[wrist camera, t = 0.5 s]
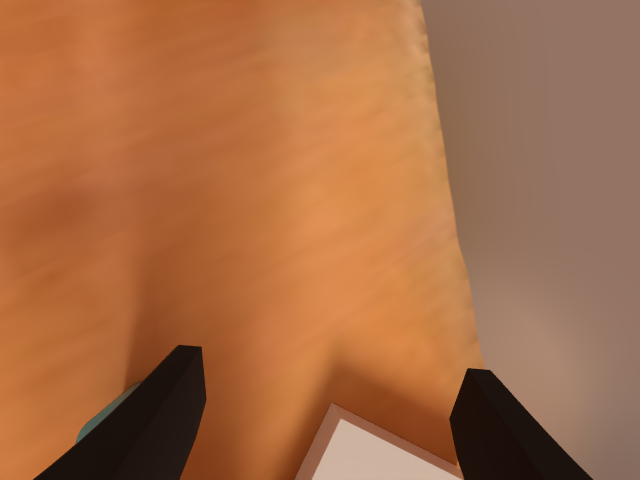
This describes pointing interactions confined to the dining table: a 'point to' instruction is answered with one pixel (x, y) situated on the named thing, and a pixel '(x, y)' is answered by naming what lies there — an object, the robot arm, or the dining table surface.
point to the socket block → (368, 453)
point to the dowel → (105, 412)
